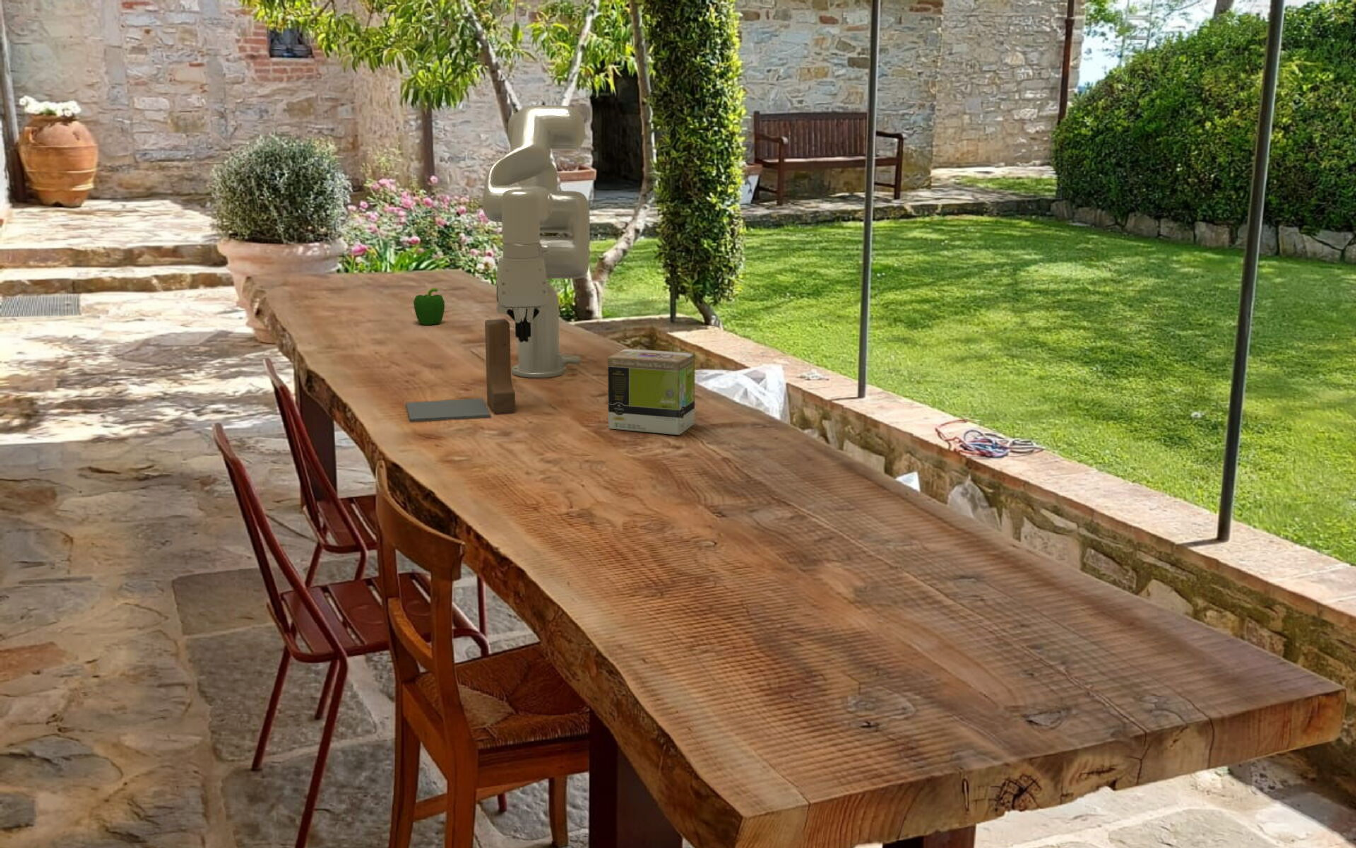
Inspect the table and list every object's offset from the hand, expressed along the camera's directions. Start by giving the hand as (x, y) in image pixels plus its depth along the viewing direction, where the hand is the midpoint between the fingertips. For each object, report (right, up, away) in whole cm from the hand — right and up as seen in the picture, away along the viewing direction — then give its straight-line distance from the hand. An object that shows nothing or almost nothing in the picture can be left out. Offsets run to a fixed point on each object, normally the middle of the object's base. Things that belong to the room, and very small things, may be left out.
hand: (523, 340), depth 265 cm
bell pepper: (-37, +11, +94) cm, 102 cm away
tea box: (+27, -18, -10) cm, 34 cm away
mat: (-15, -14, 0) cm, 21 cm away
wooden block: (-5, -14, +2) cm, 15 cm away
